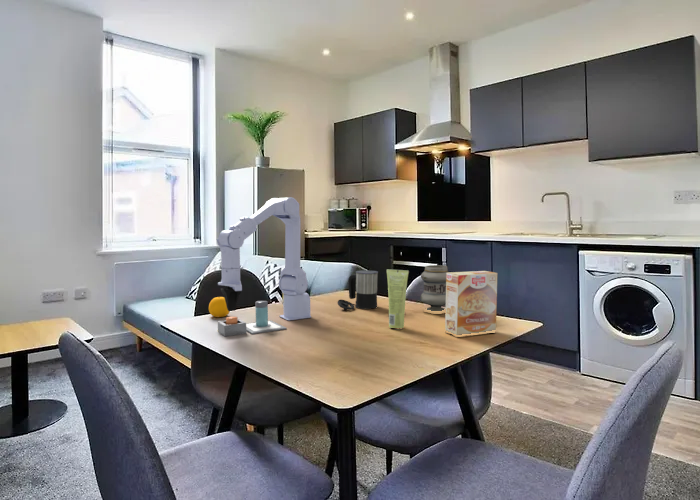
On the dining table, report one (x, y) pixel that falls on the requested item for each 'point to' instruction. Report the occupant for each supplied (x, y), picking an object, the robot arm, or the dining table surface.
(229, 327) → the button housing
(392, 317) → the tube
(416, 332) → the dining table surface
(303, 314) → the robot arm
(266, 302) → the marker
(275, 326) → the board
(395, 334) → the dining table surface
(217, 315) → the apple
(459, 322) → the coffeecake box
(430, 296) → the apothecary jar
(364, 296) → the milk frother
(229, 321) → the button
